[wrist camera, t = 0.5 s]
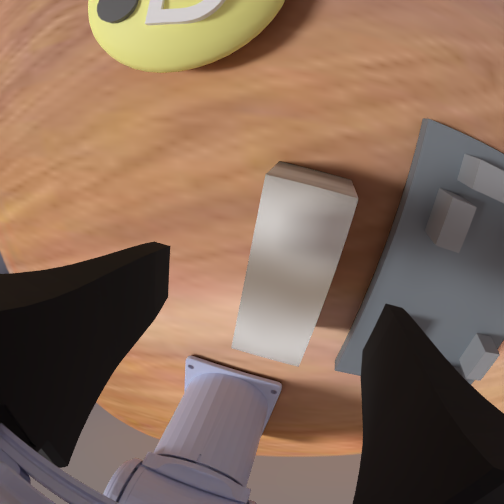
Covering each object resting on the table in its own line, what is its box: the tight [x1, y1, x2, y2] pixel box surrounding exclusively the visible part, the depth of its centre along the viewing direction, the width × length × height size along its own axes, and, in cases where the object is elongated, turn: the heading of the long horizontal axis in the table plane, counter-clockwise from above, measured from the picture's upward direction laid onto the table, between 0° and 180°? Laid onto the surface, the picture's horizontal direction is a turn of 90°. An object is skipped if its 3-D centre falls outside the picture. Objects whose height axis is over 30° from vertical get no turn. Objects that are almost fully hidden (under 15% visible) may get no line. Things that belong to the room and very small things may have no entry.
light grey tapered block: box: [232, 161, 358, 367], centre depth 16 cm, size 10×4×4 cm, turn 170°
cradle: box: [335, 118, 504, 385], centre depth 15 cm, size 17×12×3 cm
